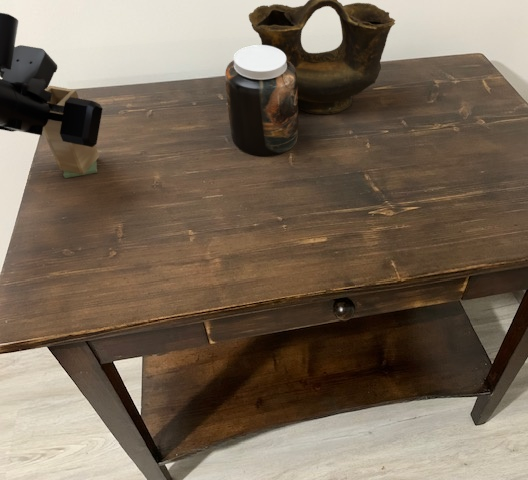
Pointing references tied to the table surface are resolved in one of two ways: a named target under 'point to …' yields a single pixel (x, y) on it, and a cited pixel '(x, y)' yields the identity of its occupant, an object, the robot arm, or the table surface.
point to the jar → (262, 100)
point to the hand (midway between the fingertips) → (71, 125)
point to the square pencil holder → (64, 152)
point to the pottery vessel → (331, 62)
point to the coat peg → (91, 170)
